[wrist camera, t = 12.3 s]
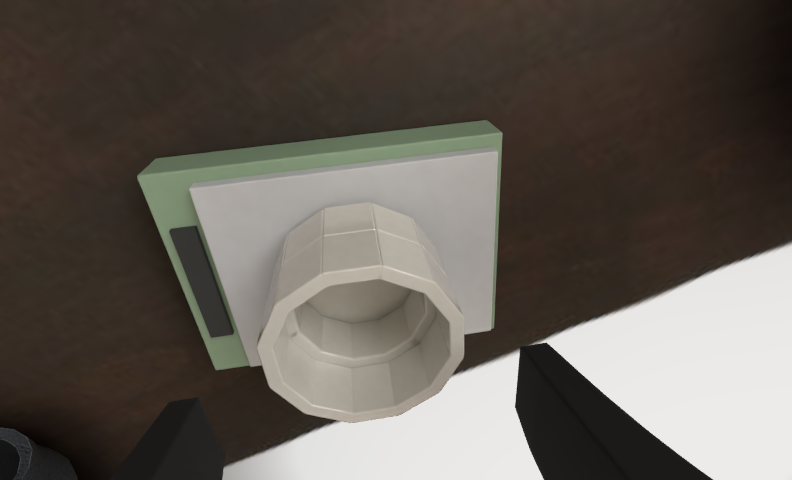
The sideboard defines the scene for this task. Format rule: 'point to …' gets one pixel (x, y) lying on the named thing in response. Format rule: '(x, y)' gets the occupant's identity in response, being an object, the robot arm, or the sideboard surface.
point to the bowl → (359, 316)
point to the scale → (312, 192)
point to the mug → (30, 459)
